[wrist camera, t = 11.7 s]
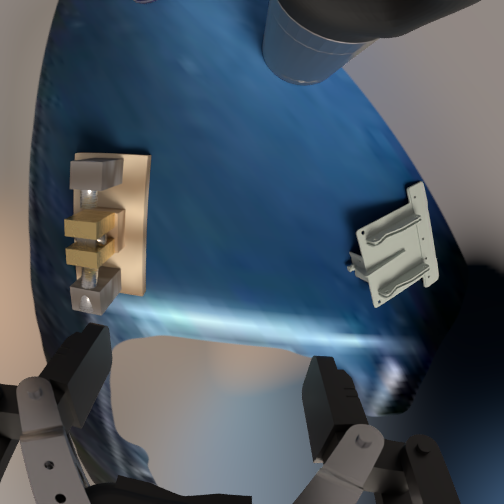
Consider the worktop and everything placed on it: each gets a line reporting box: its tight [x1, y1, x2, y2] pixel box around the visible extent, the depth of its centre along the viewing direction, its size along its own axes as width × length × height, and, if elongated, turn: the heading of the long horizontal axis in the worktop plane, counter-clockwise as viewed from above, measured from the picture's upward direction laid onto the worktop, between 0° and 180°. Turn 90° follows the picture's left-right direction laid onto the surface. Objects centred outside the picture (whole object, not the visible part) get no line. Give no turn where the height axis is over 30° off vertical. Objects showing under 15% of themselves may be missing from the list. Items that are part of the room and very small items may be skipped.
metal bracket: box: [347, 182, 439, 308], centre depth 39 cm, size 14×6×15 cm
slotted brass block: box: [64, 209, 115, 269], centre depth 32 cm, size 5×4×5 cm
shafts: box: [80, 160, 99, 313], centre depth 32 cm, size 17×2×4 cm, turn 172°
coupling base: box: [70, 153, 151, 315], centre depth 34 cm, size 18×10×8 cm, turn 173°
